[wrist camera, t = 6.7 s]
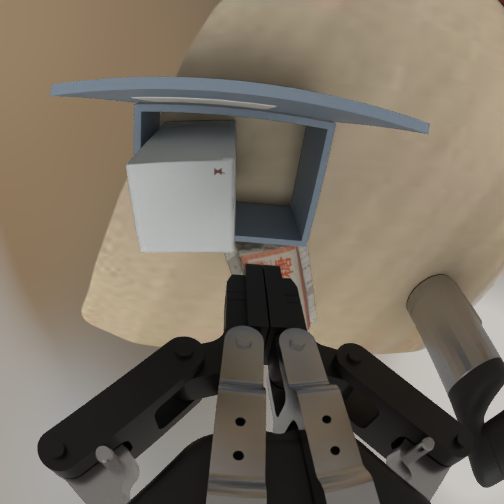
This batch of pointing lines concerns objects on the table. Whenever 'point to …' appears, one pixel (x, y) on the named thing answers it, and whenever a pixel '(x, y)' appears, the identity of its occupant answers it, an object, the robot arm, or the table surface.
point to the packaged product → (290, 262)
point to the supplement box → (185, 188)
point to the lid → (239, 98)
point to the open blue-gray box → (250, 214)
